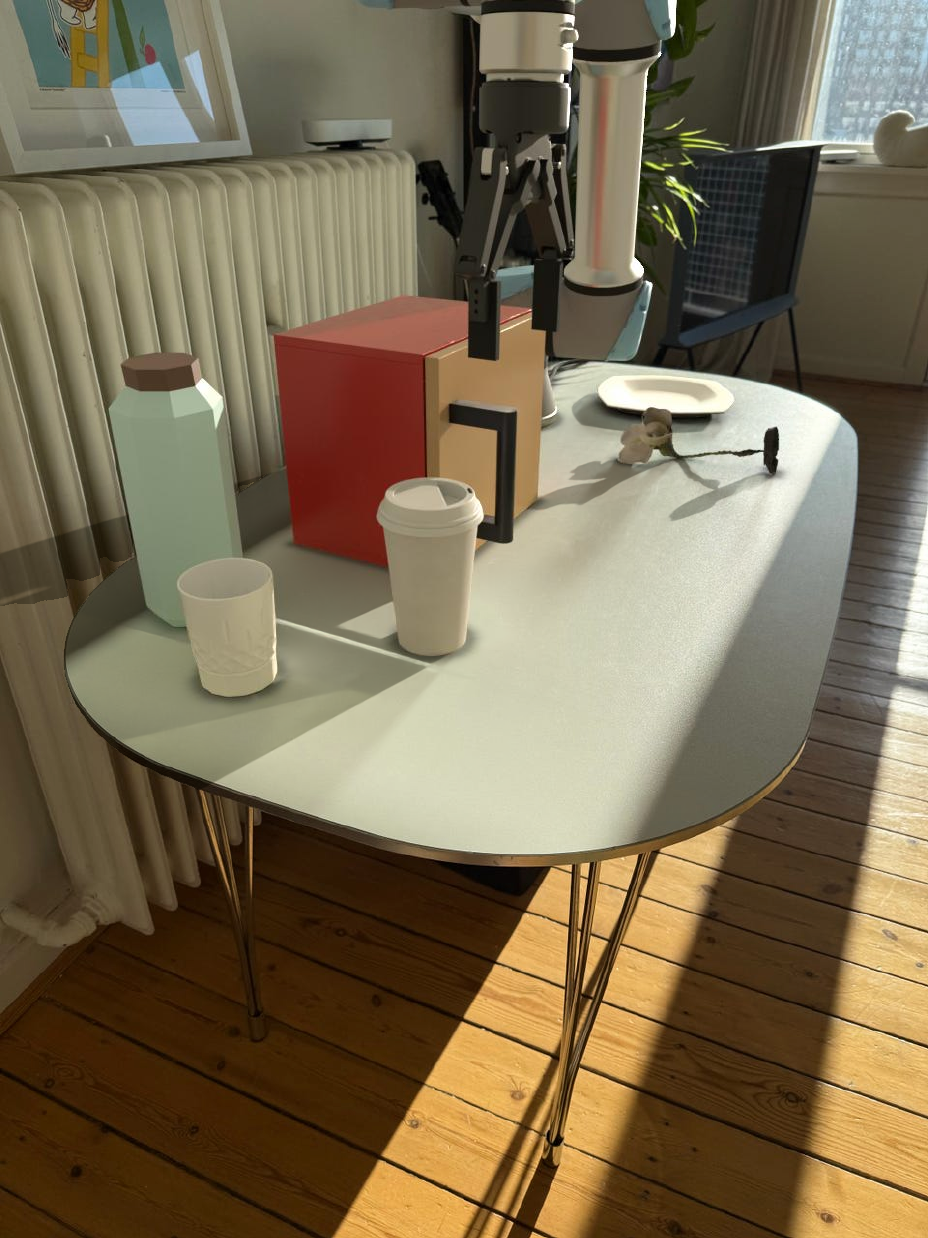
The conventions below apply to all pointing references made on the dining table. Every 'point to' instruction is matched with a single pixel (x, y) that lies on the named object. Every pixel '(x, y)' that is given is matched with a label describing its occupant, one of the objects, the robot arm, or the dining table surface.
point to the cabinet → (359, 414)
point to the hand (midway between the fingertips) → (516, 343)
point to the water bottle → (174, 473)
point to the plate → (665, 395)
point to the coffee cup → (430, 560)
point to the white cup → (231, 624)
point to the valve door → (489, 424)
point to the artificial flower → (659, 437)
